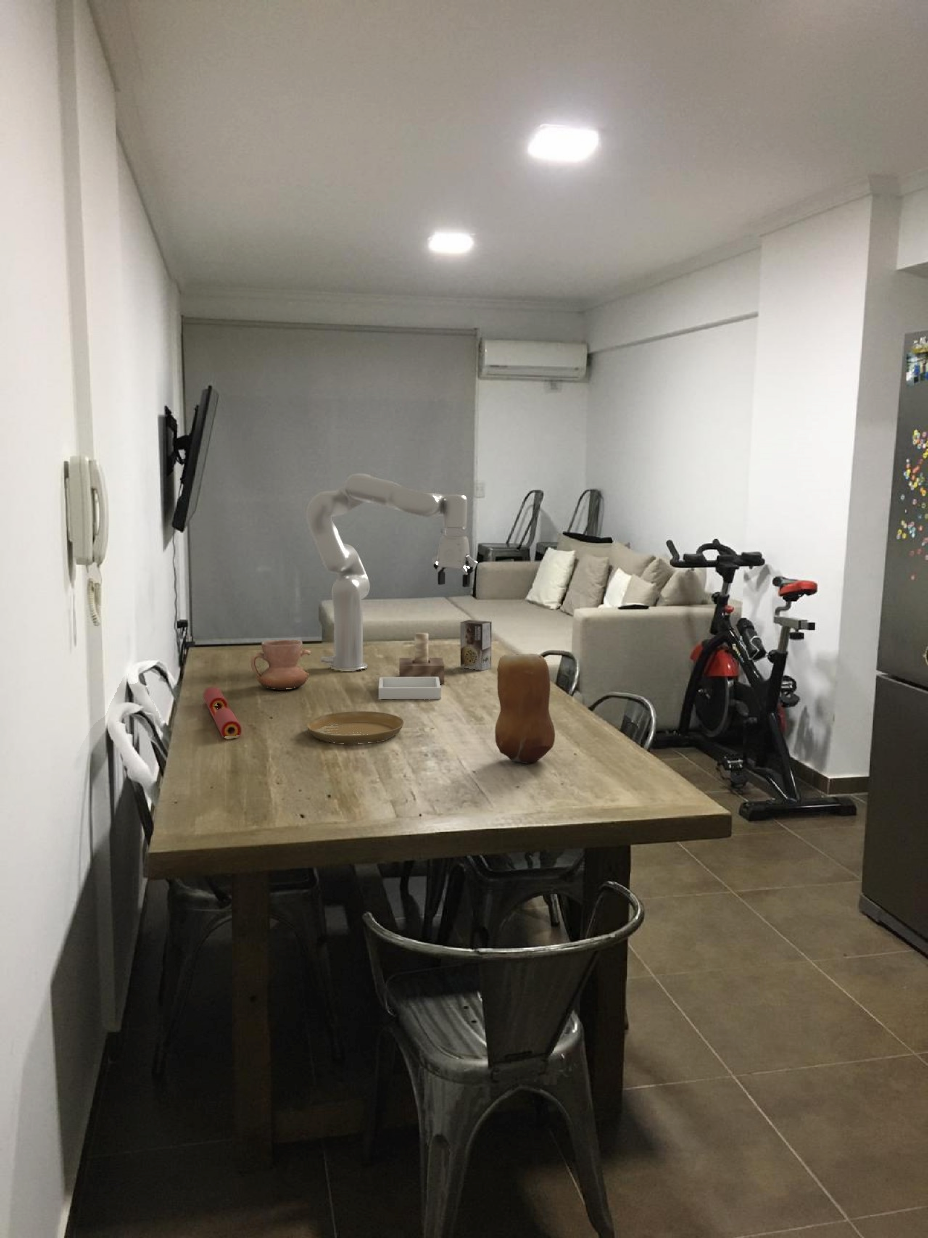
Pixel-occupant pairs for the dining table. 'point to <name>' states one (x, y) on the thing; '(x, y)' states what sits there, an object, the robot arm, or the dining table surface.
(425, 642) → the dowel
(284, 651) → the ceramic jug
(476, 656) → the coffee box
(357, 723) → the plant saucer
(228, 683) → the dining table surface
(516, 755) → the butternut squash
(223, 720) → the blood vessel
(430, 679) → the tray
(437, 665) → the socket block
